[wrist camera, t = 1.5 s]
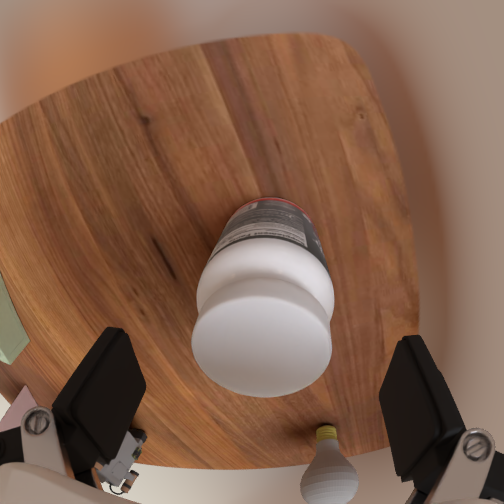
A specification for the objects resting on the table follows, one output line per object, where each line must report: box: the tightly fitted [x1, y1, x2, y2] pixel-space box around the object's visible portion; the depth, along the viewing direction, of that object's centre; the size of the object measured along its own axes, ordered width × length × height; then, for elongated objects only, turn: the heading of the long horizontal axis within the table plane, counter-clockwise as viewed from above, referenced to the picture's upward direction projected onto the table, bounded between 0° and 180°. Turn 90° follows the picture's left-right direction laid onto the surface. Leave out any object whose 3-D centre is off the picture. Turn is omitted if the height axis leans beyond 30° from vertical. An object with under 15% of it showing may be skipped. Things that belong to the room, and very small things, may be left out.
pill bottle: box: [191, 197, 334, 397], centre depth 14 cm, size 6×6×10 cm
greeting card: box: [0, 385, 38, 432], centre depth 28 cm, size 11×7×15 cm, turn 133°
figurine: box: [94, 428, 147, 495], centre depth 23 cm, size 9×12×15 cm
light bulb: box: [300, 425, 359, 504], centre depth 22 cm, size 6×6×10 cm
